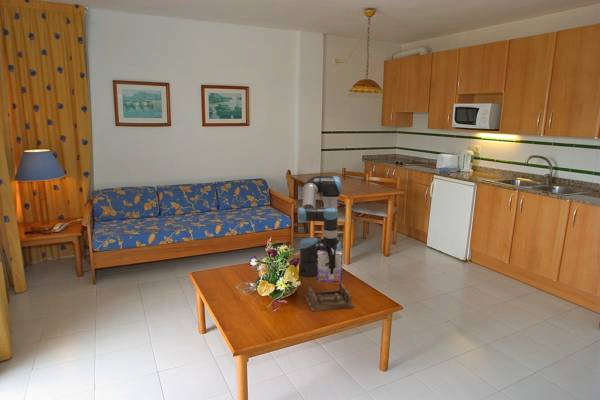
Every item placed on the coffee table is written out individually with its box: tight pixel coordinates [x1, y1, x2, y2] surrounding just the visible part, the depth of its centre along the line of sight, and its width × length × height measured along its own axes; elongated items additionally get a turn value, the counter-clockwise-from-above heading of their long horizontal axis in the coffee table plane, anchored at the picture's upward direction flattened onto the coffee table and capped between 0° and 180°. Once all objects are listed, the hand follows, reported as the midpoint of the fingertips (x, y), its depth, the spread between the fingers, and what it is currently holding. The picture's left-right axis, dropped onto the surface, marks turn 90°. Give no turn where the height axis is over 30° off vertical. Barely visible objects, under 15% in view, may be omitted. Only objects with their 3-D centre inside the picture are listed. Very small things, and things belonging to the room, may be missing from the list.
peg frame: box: [304, 282, 355, 312], centre depth 224 cm, size 18×24×7 cm
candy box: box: [316, 250, 343, 283], centre depth 220 cm, size 14×6×16 cm, turn 85°
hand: (329, 276), depth 222 cm, fingers closed on candy box, 7 cm apart
